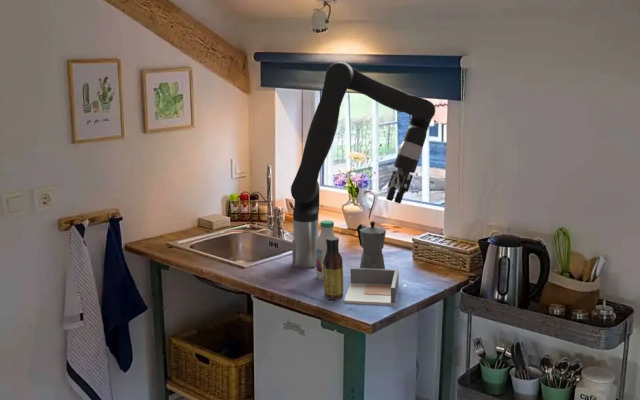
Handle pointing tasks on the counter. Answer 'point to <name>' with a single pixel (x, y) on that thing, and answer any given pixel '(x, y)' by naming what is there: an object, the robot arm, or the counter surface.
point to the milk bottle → (323, 245)
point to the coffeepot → (371, 246)
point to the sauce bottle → (333, 270)
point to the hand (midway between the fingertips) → (393, 201)
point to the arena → (373, 286)
